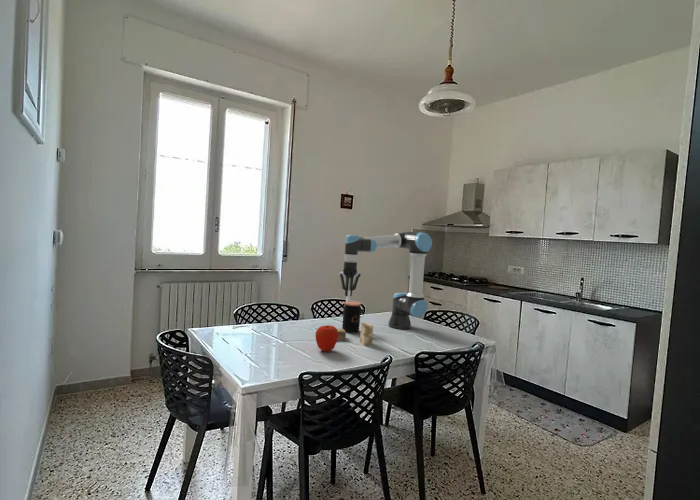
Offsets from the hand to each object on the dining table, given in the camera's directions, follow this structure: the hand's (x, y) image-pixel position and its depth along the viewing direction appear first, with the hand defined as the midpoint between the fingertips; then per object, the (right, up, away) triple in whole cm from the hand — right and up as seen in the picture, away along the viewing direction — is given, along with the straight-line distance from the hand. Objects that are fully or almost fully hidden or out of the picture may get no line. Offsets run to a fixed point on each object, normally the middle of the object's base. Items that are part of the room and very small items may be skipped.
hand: (347, 301), depth 229 cm
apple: (-11, -23, -24) cm, 35 cm away
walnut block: (-2, -19, 0) cm, 19 cm away
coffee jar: (+1, -21, +17) cm, 27 cm away
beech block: (+10, -23, -6) cm, 26 cm away
